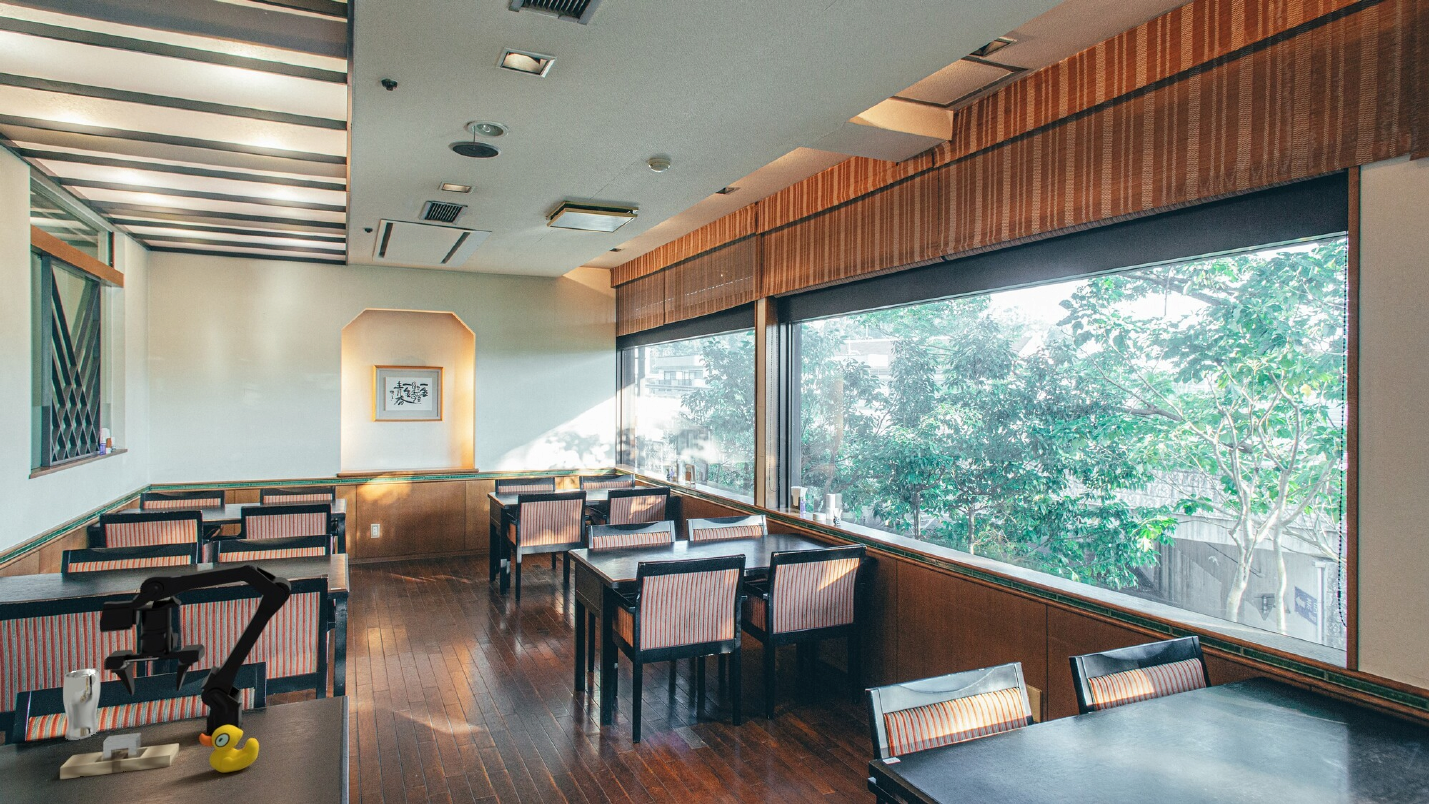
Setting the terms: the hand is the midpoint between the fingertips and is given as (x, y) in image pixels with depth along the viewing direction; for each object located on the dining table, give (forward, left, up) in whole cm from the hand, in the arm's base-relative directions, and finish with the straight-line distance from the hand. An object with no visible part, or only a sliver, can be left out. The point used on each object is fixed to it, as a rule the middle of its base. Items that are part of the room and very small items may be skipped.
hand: (155, 692), depth 183 cm
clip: (+3, +11, -12) cm, 16 cm away
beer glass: (+18, -10, -12) cm, 24 cm away
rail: (+3, +11, -12) cm, 16 cm away
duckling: (-20, +20, -12) cm, 31 cm away
